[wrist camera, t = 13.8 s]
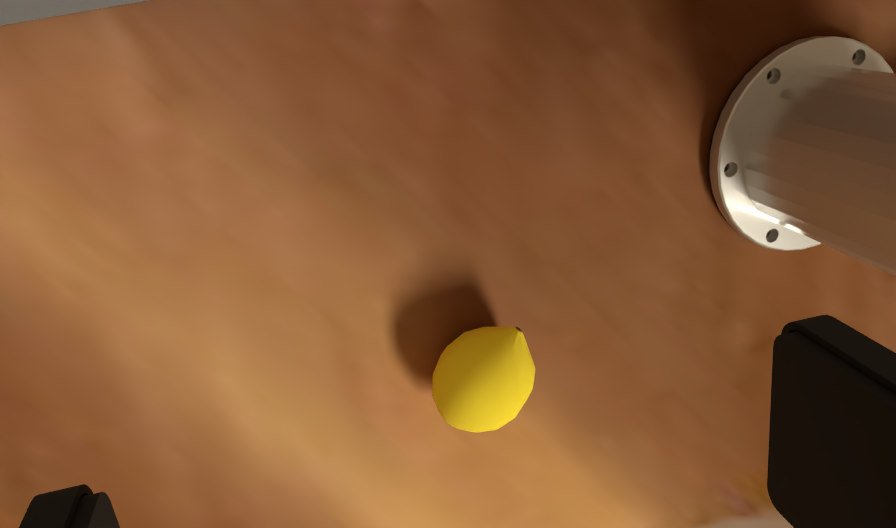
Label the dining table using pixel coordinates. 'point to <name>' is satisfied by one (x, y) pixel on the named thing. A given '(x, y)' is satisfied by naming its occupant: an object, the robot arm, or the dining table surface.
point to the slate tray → (50, 8)
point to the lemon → (483, 378)
